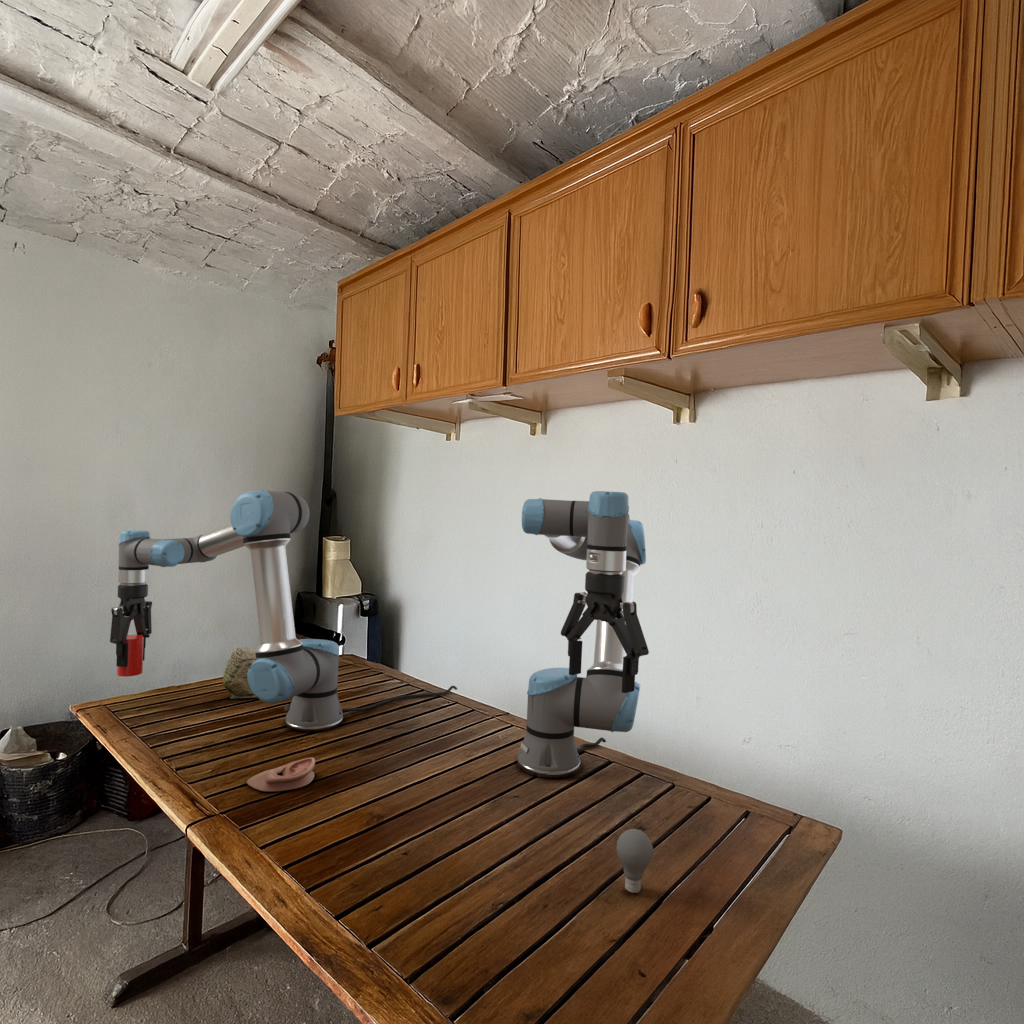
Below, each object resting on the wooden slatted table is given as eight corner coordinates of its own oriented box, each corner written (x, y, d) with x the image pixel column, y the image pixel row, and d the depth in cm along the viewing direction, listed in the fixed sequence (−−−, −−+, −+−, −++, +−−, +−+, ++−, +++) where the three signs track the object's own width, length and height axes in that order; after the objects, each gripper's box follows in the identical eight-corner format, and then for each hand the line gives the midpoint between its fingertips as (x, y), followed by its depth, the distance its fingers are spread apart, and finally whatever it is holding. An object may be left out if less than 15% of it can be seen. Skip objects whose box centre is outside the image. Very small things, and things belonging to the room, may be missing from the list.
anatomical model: (238, 769, 136) (269, 749, 147) (238, 787, 136) (269, 766, 147) (295, 777, 133) (322, 756, 144) (294, 796, 133) (321, 773, 144)
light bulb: (610, 879, 108) (613, 822, 108) (644, 879, 109) (647, 822, 109) (619, 902, 102) (622, 840, 102) (655, 901, 103) (658, 840, 103)
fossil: (218, 695, 195) (220, 647, 195) (278, 685, 208) (279, 640, 207) (228, 703, 189) (230, 653, 188) (289, 692, 201) (290, 645, 201)
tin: (134, 677, 180) (135, 639, 180) (112, 676, 180) (113, 638, 180) (147, 671, 186) (148, 635, 186) (125, 670, 186) (126, 634, 186)
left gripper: (144, 579, 193) (142, 654, 193) (95, 587, 174) (92, 670, 174) (167, 580, 192) (165, 656, 192) (120, 588, 173) (117, 672, 173)
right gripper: (546, 565, 128) (541, 669, 129) (645, 581, 109) (639, 703, 109) (572, 564, 133) (568, 664, 133) (671, 579, 114) (666, 696, 114)
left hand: (130, 663), depth 183 cm, fingers closed on tin, 6 cm apart
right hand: (600, 682), depth 121 cm, fingers open, 13 cm apart
